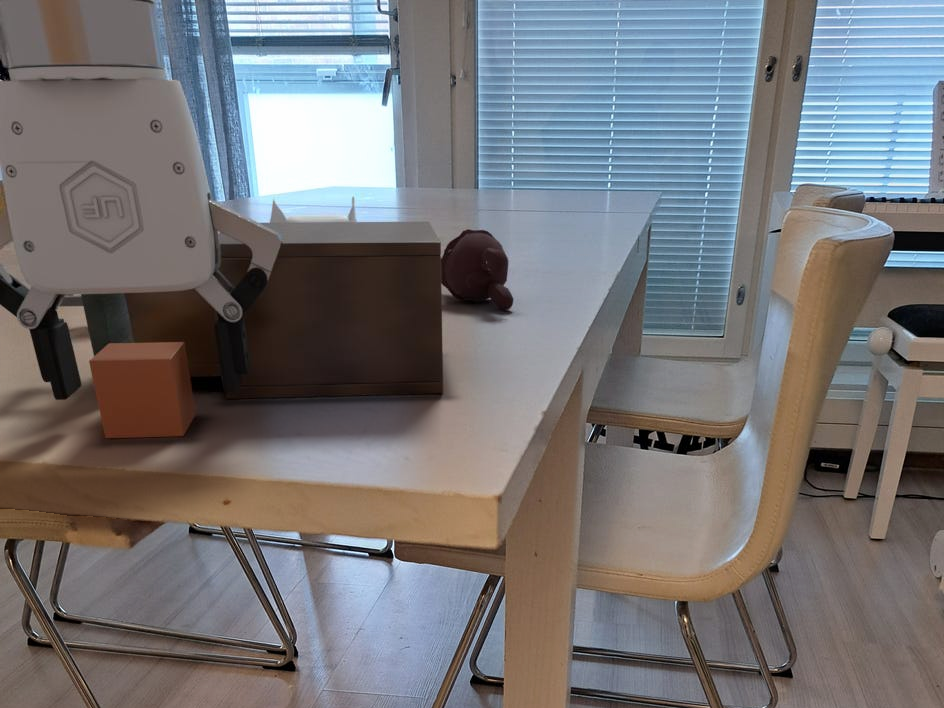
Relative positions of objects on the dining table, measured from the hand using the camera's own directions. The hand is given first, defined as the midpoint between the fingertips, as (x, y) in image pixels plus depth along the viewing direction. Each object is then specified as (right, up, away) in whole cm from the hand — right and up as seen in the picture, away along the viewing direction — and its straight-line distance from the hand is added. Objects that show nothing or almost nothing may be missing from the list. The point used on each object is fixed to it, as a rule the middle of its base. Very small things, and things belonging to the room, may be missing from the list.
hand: (152, 390), depth 54 cm
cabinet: (+9, +5, +13) cm, 16 cm away
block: (0, -2, +1) cm, 2 cm away
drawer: (-2, +5, +11) cm, 12 cm away
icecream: (+19, +20, +39) cm, 48 cm away
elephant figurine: (+2, +24, +46) cm, 52 cm away
